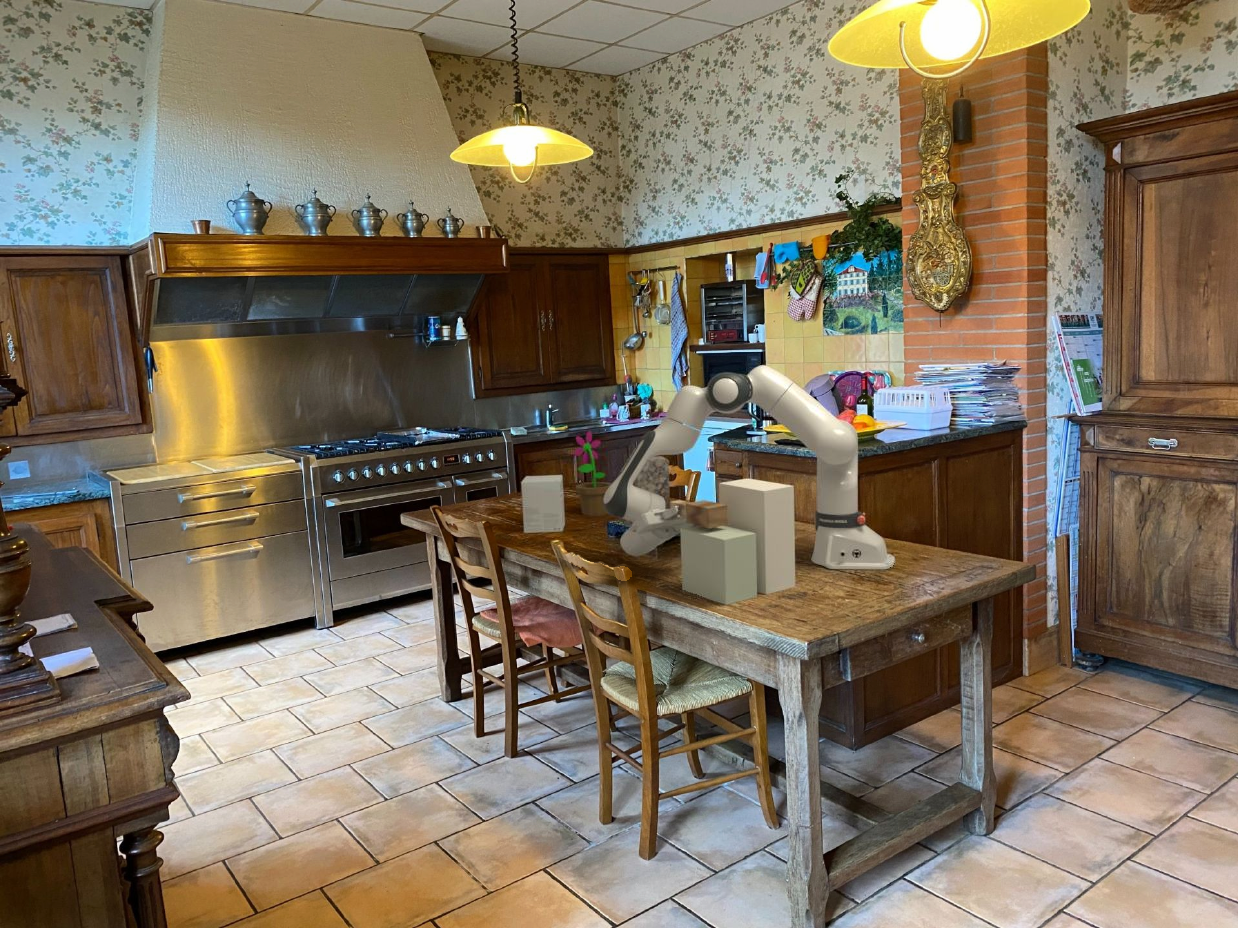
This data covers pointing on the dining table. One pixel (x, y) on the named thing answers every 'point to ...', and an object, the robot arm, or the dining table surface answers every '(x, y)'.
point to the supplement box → (543, 503)
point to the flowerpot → (594, 491)
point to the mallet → (703, 513)
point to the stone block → (655, 477)
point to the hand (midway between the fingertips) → (684, 507)
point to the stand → (743, 544)
